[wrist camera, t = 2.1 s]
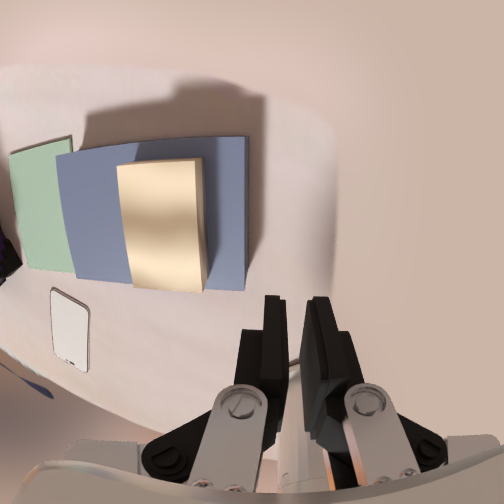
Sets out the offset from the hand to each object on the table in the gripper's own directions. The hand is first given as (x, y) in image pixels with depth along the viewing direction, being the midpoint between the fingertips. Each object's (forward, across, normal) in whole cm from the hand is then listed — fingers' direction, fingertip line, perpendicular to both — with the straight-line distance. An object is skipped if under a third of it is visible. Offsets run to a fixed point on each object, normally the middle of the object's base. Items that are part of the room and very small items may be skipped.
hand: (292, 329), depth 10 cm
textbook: (+17, +12, 0) cm, 21 cm away
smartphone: (+18, +30, +19) cm, 40 cm away
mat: (+17, +28, 0) cm, 33 cm away
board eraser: (+12, +9, 0) cm, 15 cm away
